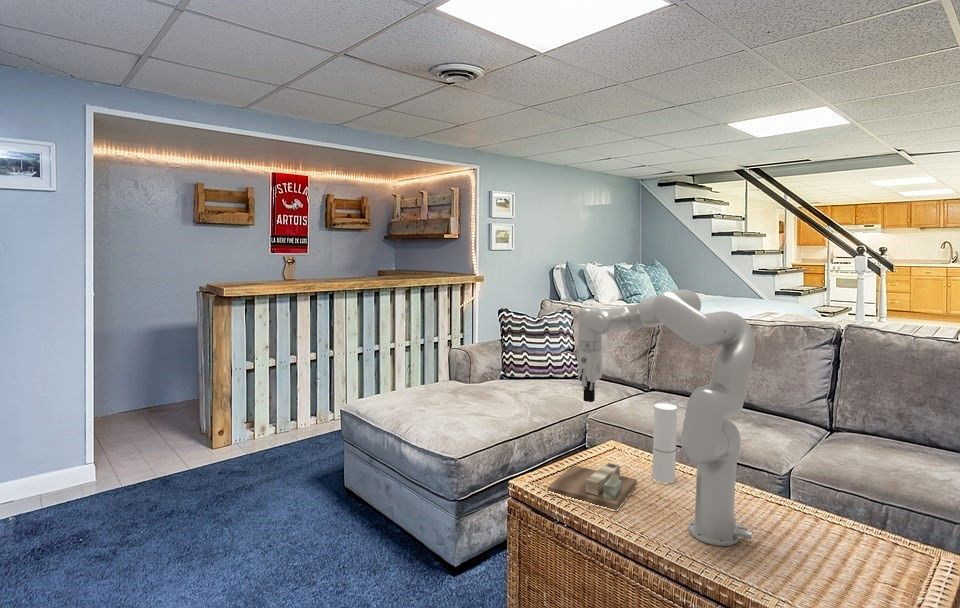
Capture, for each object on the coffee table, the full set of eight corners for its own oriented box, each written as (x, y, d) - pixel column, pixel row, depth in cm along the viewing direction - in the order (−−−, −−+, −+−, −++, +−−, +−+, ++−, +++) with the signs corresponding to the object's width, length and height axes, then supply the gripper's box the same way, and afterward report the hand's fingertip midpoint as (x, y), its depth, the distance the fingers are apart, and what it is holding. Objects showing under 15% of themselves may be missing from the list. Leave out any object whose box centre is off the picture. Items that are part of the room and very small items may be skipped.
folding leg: (608, 474, 178) (608, 462, 177) (619, 477, 175) (620, 465, 175) (585, 491, 165) (585, 478, 165) (597, 495, 163) (597, 482, 162)
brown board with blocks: (636, 486, 175) (637, 467, 174) (616, 512, 158) (616, 491, 157) (572, 472, 187) (573, 453, 186) (547, 494, 170) (547, 474, 169)
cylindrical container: (671, 475, 183) (674, 403, 181) (677, 484, 176) (679, 409, 174) (650, 475, 184) (652, 403, 181) (654, 484, 177) (656, 409, 174)
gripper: (592, 350, 167) (591, 408, 168) (608, 343, 179) (607, 397, 181) (569, 348, 171) (569, 405, 172) (587, 341, 183) (586, 394, 185)
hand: (589, 401), depth 177 cm, fingers closed
